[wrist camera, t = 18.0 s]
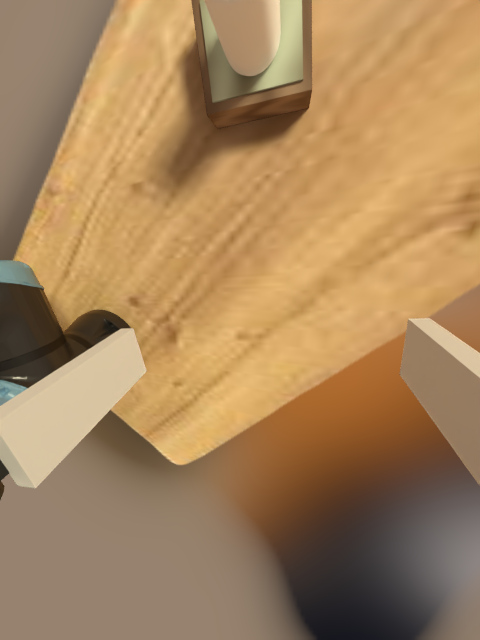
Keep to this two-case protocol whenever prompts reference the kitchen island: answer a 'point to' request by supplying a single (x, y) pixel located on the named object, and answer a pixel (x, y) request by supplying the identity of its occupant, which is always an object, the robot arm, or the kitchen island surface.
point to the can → (247, 32)
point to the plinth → (266, 87)
